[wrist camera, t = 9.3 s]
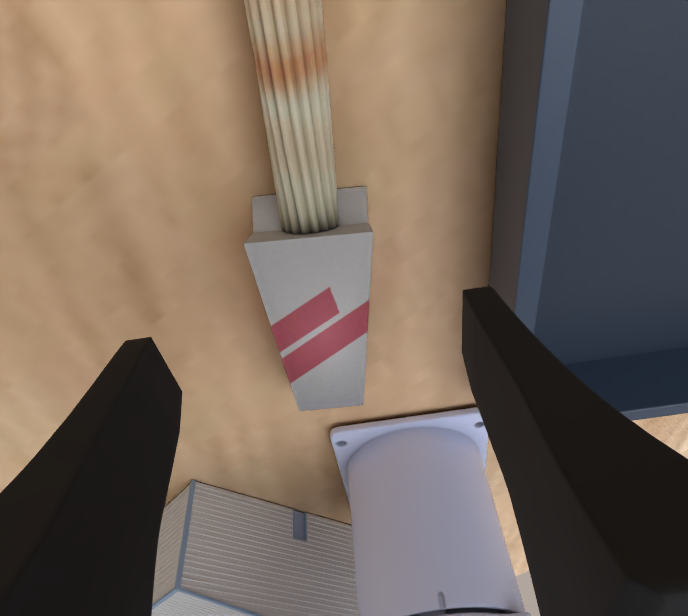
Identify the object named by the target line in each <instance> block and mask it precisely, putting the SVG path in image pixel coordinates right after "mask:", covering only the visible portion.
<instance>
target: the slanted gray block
mask: <svg viewBox="0 0 688 616" xmlns="http://www.w3.org/2000/svg"><path fill="white" fill-rule="evenodd" d="M152 616H359V608H358V596H357V583H356V571H355V558H354V546H353V533H352V526H351V525H348V524H344V523H341V522H337V521H334V520H330V519H327V518H323V517H319V516H316V515H312V514H309V513H307V512H305V513H301V512H297V511H294V509H291V508H287V507H284V506H280V505H277V504H273V503H270V502H266V501H263V500H259V499H255V498H252V497H248V496H245V495H241V494H238V493H234V492H231V491H227V490H224V489H220V488H216V487H213V486H209V485H206V484H202V483H199V482H196V481H195V480H192V481H191V483H190V485H189V486H187V487H186V488H185V489H184V490H183V491H182V492H181V493H180V494H179V495H178V496H177V497H176V498H175V499H174V500H172V501H171V502H170V503H169V504H168V505H167V506H166V507H165V508H164V511H163V515H162V520H161V526H160V532H159V539H158V547H157V557H156V567H155V577H154V589H153V602H152Z"/></svg>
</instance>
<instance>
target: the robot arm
mask: <svg viewBox="0 0 688 616" xmlns="http://www.w3.org/2000/svg"><path fill="white" fill-rule="evenodd" d="M462 354H463V358H464V362H465V366H466V370H467V375H468V378H469V382H470V386H471V390H472V393H473V396H474V399H475V401H476V404H477V407H475V408H468V409H461V410H454V411H446V412H439V413H432V414H425V415H418V416H411V417H404V418H396V419H389V420H382V421H375V422H368V423H361V424H354V425H346V426H339V427H335V428H333V429H332V430H331V431H330V439H331V443H332V446H333V449H334V453H335V456H336V460H337V463H338V467H339V470H340V473H341V477H342V480H343V484H344V487H345V491H346V494H347V497H348V501H349V504H350V508H351V521H352V533H353V546H354V558H355V571H356V583H357V596H358V608H359V616H530V613H528V612H525V608H524V605H523V602H522V598H521V594H520V592H519V588H518V584H517V581H516V577H515V574H514V570H513V567H512V563H511V560H510V556H509V553H508V549H507V546H506V542H505V539H504V535H503V532H502V528H501V525H500V521H499V518H498V514H497V511H496V507H495V504H494V500H493V497H492V493H491V490H490V487H489V483H488V480H487V476H486V473H485V469H486V457H487V445H488V436H489V439H490V442H491V444H492V447H493V450H494V452H495V455H496V457H497V460H498V463H499V465H500V468H501V471H502V473H503V476H504V479H505V482H506V485H507V488H508V491H509V494H510V498H511V502H512V506H513V509H514V513H515V517H516V520H517V524H518V528H519V532H520V535H521V539H522V543H523V547H524V551H525V555H526V559H527V563H528V567H529V571H530V574H531V578H532V582H533V587H534V591H535V594H536V599H537V603H538V607H539V611H540V616H688V459H687V458H685V457H684V456H682V455H681V454H679V453H678V452H676V451H675V450H673V449H671V448H670V447H668V446H667V445H665V444H664V443H662V442H661V441H659V440H658V439H656V438H655V437H653V436H652V435H650V434H649V433H647V432H646V431H645V430H643V429H642V428H641V427H639V426H638V425H637V424H635V423H634V422H632V421H631V420H630V419H628V418H627V417H626V416H624V415H623V414H622V413H620V412H619V411H618V410H617V409H615V408H614V407H613V406H611V405H610V404H609V403H608V402H606V401H605V400H604V399H603V398H601V397H600V396H599V395H598V394H597V393H595V392H594V391H593V390H592V389H591V388H590V387H588V386H587V385H586V384H585V383H584V382H583V381H582V380H580V379H579V378H578V377H577V376H576V375H575V374H574V373H573V372H572V371H570V370H569V369H568V368H567V367H566V366H565V365H564V364H563V363H562V362H561V361H560V360H559V359H558V358H557V357H556V356H555V355H554V354H553V353H552V352H551V351H550V350H549V349H548V348H547V347H546V346H545V345H544V344H543V343H542V342H541V341H540V340H539V339H538V338H537V337H536V336H535V335H534V334H533V333H532V332H531V331H530V330H529V329H528V328H527V327H526V325H525V324H524V323H523V322H522V321H521V320H520V319H519V318H518V317H517V316H516V314H515V313H514V312H513V311H512V310H511V309H510V307H509V306H508V305H507V304H506V303H505V301H504V300H503V299H502V298H501V297H500V295H499V294H498V293H497V292H496V290H495V289H493V288H492V287H491V286H487V287H481V288H474V289H467V290H463V310H462ZM181 403H182V390H181V389H180V387H179V385H178V383H177V382H176V380H175V378H174V376H173V375H172V373H171V371H170V369H169V368H168V366H167V364H166V362H165V361H164V359H163V357H162V355H161V354H160V352H159V350H158V348H157V347H156V345H155V343H154V341H153V340H152V338H151V337H147V338H141V339H134V340H127V341H125V342H124V343H123V345H122V346H121V347H120V348H119V350H118V351H117V352H116V354H115V355H114V356H113V358H112V359H111V360H110V362H109V363H108V364H107V366H106V367H105V368H104V370H103V371H102V372H101V374H100V375H99V376H98V378H97V379H96V381H95V382H94V383H93V385H92V386H91V387H90V389H89V390H88V391H87V392H86V394H85V395H84V396H83V398H82V399H81V400H80V402H79V403H78V404H77V405H76V407H75V408H74V409H73V411H72V412H71V413H70V415H69V416H68V417H67V418H66V420H65V421H64V422H63V423H62V424H61V426H60V427H59V428H58V429H57V430H56V432H55V433H54V434H53V435H52V436H51V438H50V439H49V440H48V441H47V442H46V444H45V445H44V446H43V447H42V448H41V450H40V451H39V452H38V453H37V454H36V456H35V457H34V458H33V459H32V460H31V461H30V462H29V463H28V465H27V466H26V467H25V468H24V469H23V470H22V471H21V472H20V473H19V474H18V475H17V476H16V478H15V479H14V480H13V481H12V482H11V483H10V484H9V485H8V486H7V487H6V488H5V489H4V490H3V491H2V492H1V493H0V616H152V602H153V589H154V577H155V567H156V557H157V547H158V539H159V532H160V526H161V520H162V515H163V511H164V506H165V501H166V496H167V491H168V487H169V482H170V477H171V472H172V467H173V462H174V457H175V452H176V447H177V442H178V437H179V432H180V419H181Z"/></svg>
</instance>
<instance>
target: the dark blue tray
mask: <svg viewBox="0 0 688 616" xmlns="http://www.w3.org/2000/svg"><path fill="white" fill-rule="evenodd" d="M489 286H491V287H492V288H493V289H495V290H496V292H497V293H498V294H499V295H500V297H501V298H502V299H503V300H504V301H505V303H506V304H507V305H508V306H509V307H510V309H511V310H512V311H513V312H514V313H515V314H516V316H517V317H518V318H519V319H520V320H521V321H522V322H523V323H524V324H525V325H526V327H527V328H528V329H529V330H530V331H531V332H532V333H533V334H534V335H535V336H536V337H537V338H538V339H539V340H540V341H541V342H542V343H543V344H544V345H545V346H546V347H547V348H548V349H549V350H550V351H551V352H552V353H553V354H554V355H555V356H556V357H557V358H558V359H559V360H560V361H561V362H562V363H563V364H564V365H565V366H566V367H567V368H568V369H569V370H570V371H572V372H573V373H574V374H575V375H576V376H577V377H578V378H579V379H580V380H582V381H583V382H584V383H585V384H586V385H587V386H588V387H590V388H591V389H592V390H593V391H594V392H595V393H597V394H598V395H599V396H600V397H601V398H603V399H604V400H605V401H606V402H608V403H609V404H610V405H611V406H613V407H614V408H615V409H617V410H618V411H619V412H620V413H622V414H623V415H624V416H626V417H627V418H628V419H630V420H631V421H632V420H639V419H647V418H654V417H661V416H669V415H676V414H683V413H688V0H507V3H506V19H505V35H504V51H503V68H502V84H501V100H500V116H499V132H498V148H497V164H496V180H495V196H494V212H493V228H492V244H491V260H490V276H489Z"/></svg>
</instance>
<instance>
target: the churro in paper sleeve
mask: <svg viewBox="0 0 688 616" xmlns="http://www.w3.org/2000/svg"><path fill="white" fill-rule="evenodd" d="M244 4H245V9H246V15H247V21H248V26H249V32H250V38H251V43H252V49H253V54H254V60H255V67H256V73H257V79H258V85H259V91H260V97H261V104H262V110H263V116H264V122H265V128H266V135H267V141H268V147H269V153H270V159H271V165H272V172H273V178H274V184H275V190H276V195H266V196H255V197H252V212H253V233H252V234H251V235H250V237H249V238H248V239H247V240H246V241H245V243H244V247H245V250H246V253H247V256H248V259H249V262H250V265H251V268H252V271H253V274H254V277H255V280H256V283H257V286H258V289H259V292H260V295H261V298H262V301H263V304H264V307H265V310H266V313H267V316H268V319H269V322H270V325H271V328H272V331H273V334H274V337H275V340H276V343H277V346H278V349H279V352H280V355H281V358H282V361H283V364H284V367H285V370H286V373H287V376H288V379H289V382H290V385H291V388H292V391H293V394H294V397H295V400H296V403H297V406H298V409H299V411H306V410H317V409H327V408H338V407H348V406H359V405H363V401H364V384H365V366H366V349H367V331H368V314H369V296H370V279H371V262H372V244H373V231H372V229H371V227H370V225H369V223H368V204H367V186H363V187H353V188H342V189H337V185H336V172H335V160H334V147H333V135H332V122H331V109H330V97H329V85H328V73H327V61H326V49H325V38H324V26H323V14H322V2H321V0H244Z"/></svg>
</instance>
